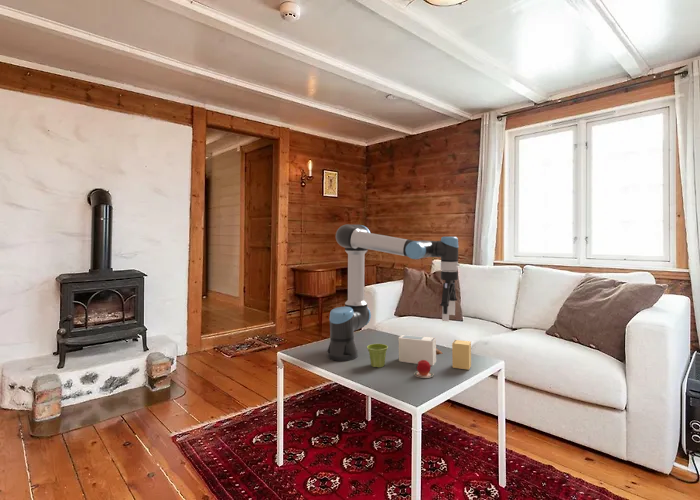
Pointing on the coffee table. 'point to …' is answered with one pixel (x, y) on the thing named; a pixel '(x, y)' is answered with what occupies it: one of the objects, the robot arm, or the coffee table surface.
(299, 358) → the coffee table surface
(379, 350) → the plant pot
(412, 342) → the white box
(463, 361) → the stub
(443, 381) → the coffee table surface
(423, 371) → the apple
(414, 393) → the coffee table surface
